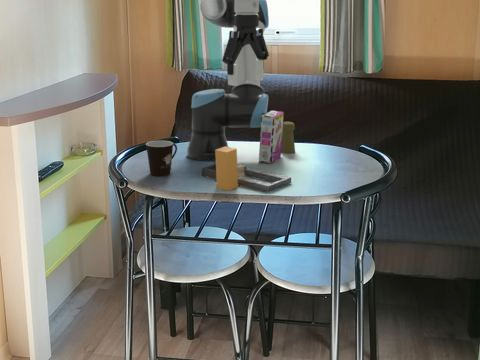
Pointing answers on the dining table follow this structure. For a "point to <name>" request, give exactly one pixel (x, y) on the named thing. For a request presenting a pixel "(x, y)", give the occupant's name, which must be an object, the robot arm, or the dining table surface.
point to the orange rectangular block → (226, 168)
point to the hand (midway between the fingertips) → (245, 82)
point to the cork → (288, 138)
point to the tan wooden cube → (240, 170)
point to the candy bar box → (271, 136)
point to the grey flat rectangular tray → (263, 186)
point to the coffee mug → (160, 157)
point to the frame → (211, 171)
